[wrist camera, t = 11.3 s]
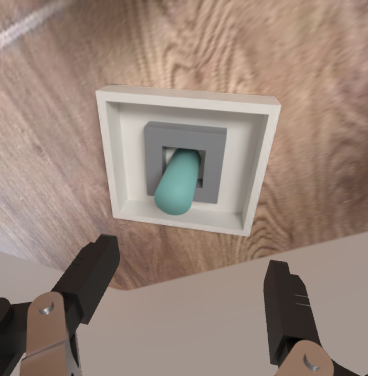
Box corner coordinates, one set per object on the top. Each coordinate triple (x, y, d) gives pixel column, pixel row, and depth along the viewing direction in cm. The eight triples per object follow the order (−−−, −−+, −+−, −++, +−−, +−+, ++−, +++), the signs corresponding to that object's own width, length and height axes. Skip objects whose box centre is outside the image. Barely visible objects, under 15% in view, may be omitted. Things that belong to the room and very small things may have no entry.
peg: (202, 147, 33) (193, 186, 24) (199, 173, 35) (190, 217, 27) (172, 144, 33) (153, 181, 25) (172, 170, 35) (154, 212, 27)
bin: (274, 96, 29) (281, 105, 25) (247, 217, 38) (249, 236, 35) (111, 84, 31) (95, 90, 27) (124, 200, 41) (113, 217, 37)
